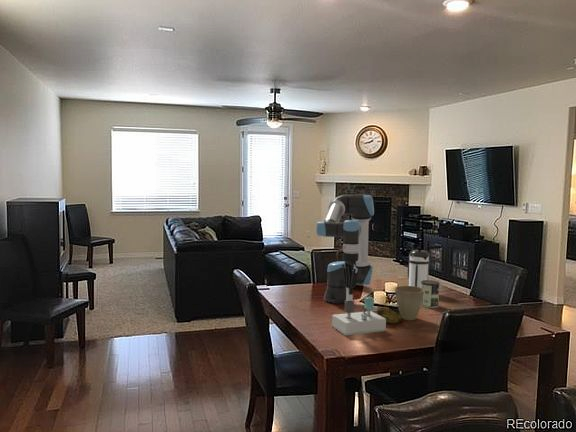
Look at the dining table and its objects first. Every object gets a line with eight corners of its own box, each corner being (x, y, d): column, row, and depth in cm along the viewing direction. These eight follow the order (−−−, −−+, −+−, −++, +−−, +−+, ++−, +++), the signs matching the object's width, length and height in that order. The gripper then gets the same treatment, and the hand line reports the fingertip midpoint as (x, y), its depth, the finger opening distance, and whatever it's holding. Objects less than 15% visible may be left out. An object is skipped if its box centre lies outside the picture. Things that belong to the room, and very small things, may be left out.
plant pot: (388, 316, 259) (389, 286, 257) (411, 313, 265) (412, 284, 263) (405, 324, 245) (406, 293, 244) (429, 321, 251) (430, 291, 250)
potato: (401, 326, 242) (402, 310, 241) (375, 323, 245) (376, 308, 244) (402, 321, 250) (402, 306, 249) (377, 319, 253) (377, 304, 252)
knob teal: (362, 316, 239) (363, 297, 238) (370, 316, 241) (370, 296, 240) (367, 319, 235) (367, 299, 234) (374, 318, 237) (375, 298, 236)
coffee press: (433, 290, 318) (434, 246, 316) (425, 295, 305) (427, 248, 302) (407, 287, 327) (409, 243, 325) (399, 291, 314) (401, 246, 311)
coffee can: (437, 304, 285) (438, 280, 284) (439, 308, 275) (440, 284, 274) (419, 302, 287) (420, 279, 286) (420, 307, 277) (421, 283, 276)
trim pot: (360, 319, 232) (360, 311, 232) (365, 318, 233) (365, 311, 232) (363, 320, 229) (363, 313, 229) (367, 320, 230) (368, 312, 230)
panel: (332, 326, 239) (332, 314, 238) (370, 322, 247) (371, 311, 246) (345, 335, 226) (345, 323, 225) (385, 330, 234) (386, 318, 233)
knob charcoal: (342, 320, 235) (343, 300, 234) (350, 319, 237) (351, 299, 236) (346, 322, 231) (347, 302, 230) (355, 322, 233) (355, 301, 232)
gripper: (337, 250, 236) (336, 298, 238) (350, 254, 224) (348, 304, 226) (351, 250, 239) (349, 296, 240) (364, 254, 226) (362, 303, 228)
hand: (349, 300), depth 233 cm, fingers closed
